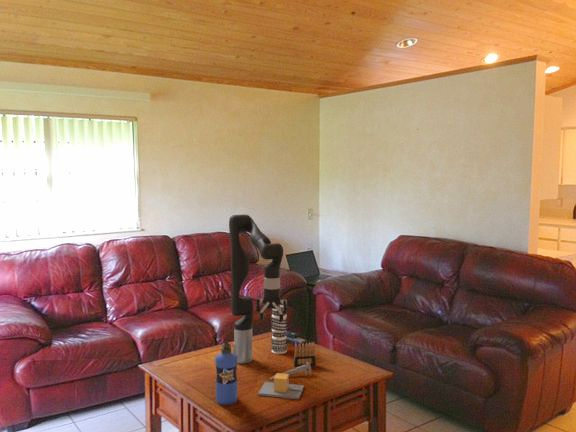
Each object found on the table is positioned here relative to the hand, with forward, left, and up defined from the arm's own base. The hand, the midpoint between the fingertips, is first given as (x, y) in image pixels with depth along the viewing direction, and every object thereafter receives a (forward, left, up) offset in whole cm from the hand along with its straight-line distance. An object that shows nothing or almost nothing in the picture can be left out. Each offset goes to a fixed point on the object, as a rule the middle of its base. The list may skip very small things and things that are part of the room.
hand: (271, 321), depth 230 cm
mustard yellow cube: (+7, -11, -27) cm, 30 cm away
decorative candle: (-5, +37, -28) cm, 47 cm away
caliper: (+8, +6, -29) cm, 30 cm away
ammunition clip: (+12, +20, -28) cm, 37 cm away
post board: (+7, -11, -28) cm, 31 cm away
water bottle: (-14, -24, -28) cm, 40 cm away
